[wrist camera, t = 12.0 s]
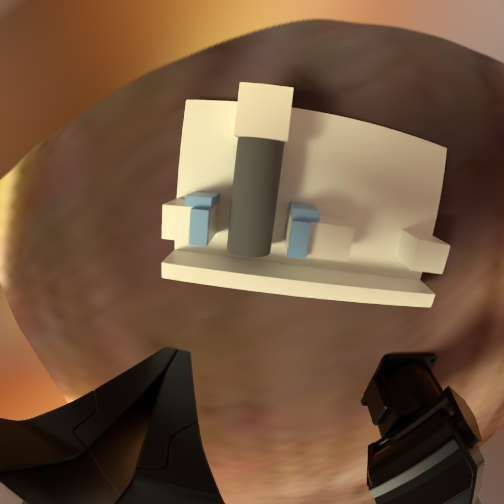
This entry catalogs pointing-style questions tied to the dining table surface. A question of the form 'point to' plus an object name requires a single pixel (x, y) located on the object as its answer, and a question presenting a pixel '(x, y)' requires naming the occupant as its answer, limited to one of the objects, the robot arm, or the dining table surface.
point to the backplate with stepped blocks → (312, 210)
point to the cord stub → (257, 166)
